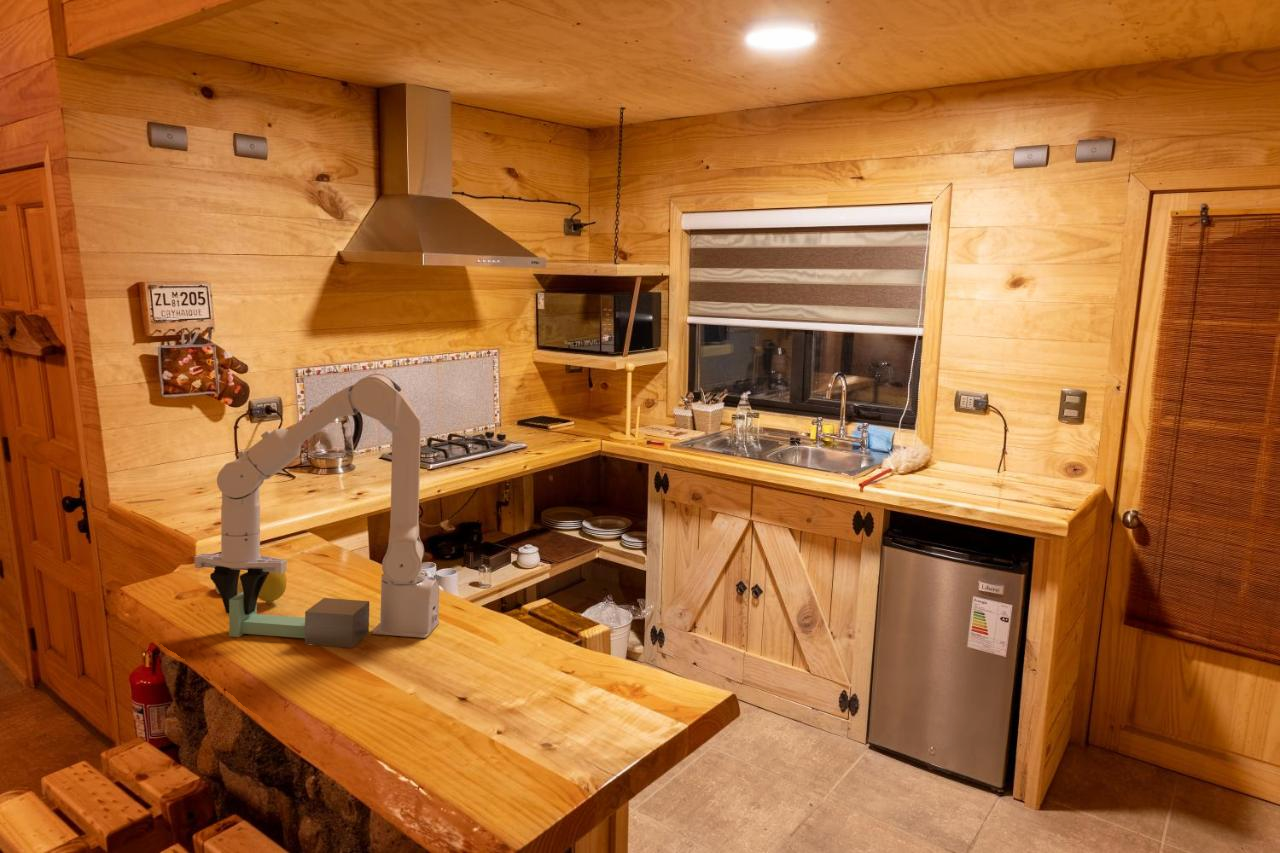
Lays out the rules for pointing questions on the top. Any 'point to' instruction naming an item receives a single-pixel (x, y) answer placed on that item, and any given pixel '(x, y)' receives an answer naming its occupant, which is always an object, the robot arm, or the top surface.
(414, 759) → the top surface
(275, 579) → the lemon
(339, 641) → the block
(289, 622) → the handle
